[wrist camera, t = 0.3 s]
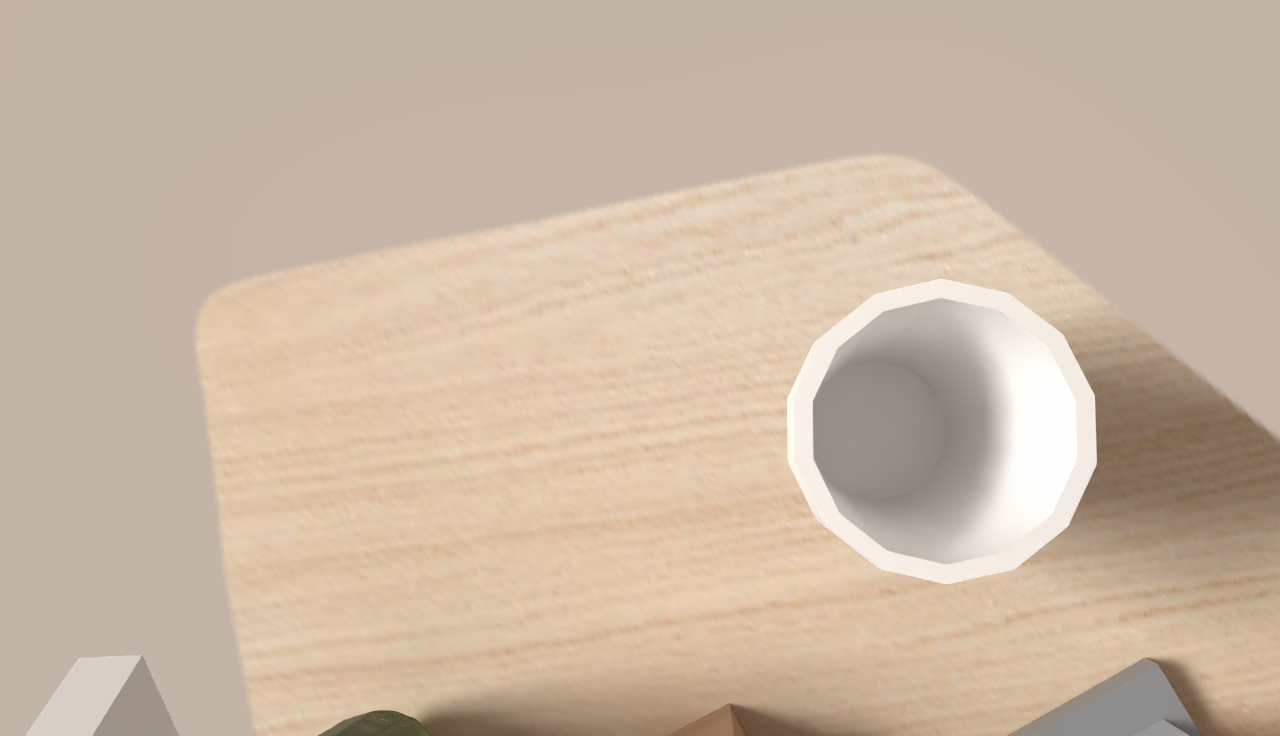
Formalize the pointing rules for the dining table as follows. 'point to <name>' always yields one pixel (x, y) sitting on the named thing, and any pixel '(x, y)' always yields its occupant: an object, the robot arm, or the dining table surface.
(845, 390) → the foam cup
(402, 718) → the vegetable
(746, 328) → the dining table surface
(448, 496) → the dining table surface
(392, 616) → the dining table surface
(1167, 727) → the grey stepped block
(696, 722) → the bar
